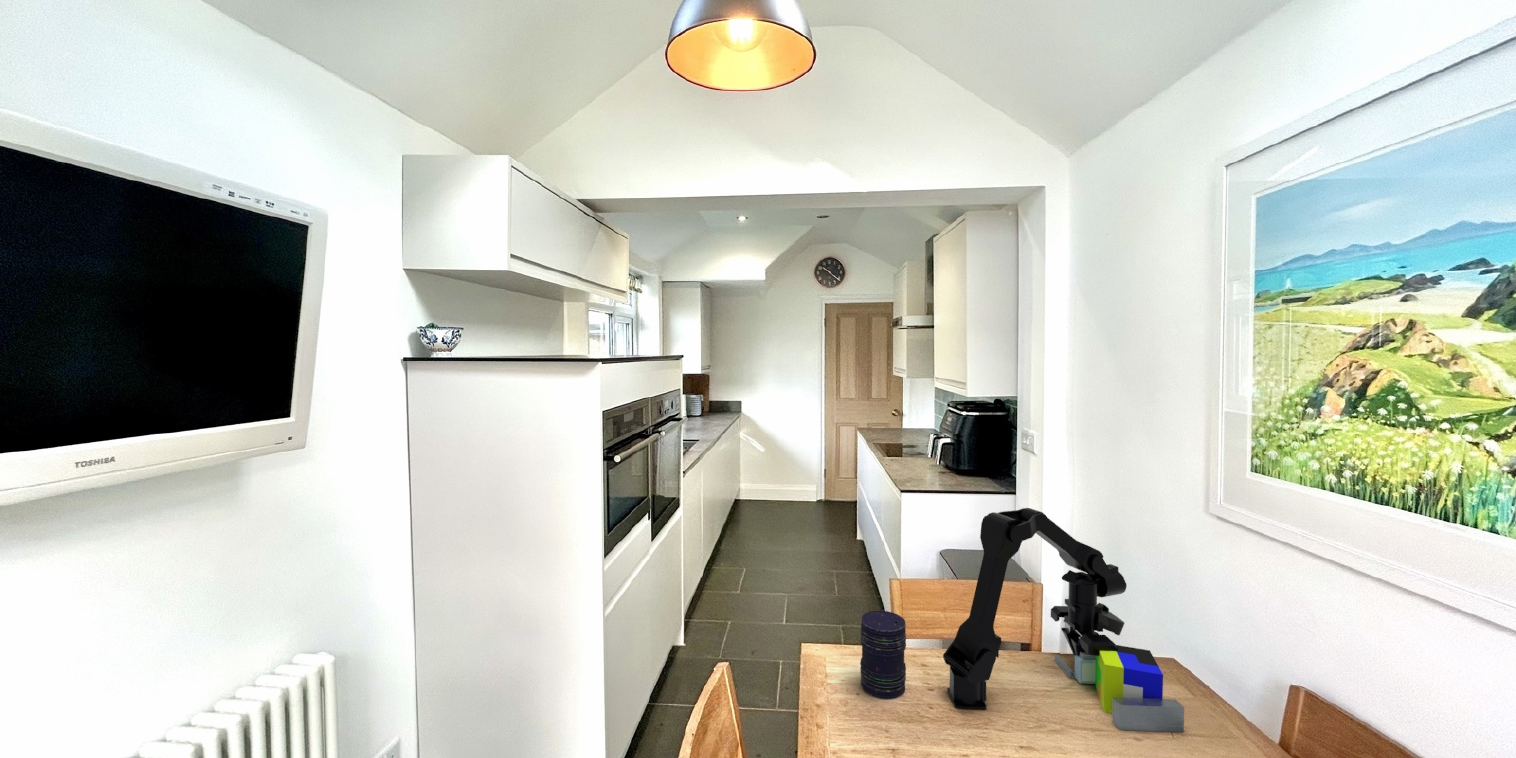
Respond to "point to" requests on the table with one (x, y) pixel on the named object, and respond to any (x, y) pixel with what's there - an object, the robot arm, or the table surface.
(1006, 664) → the table surface
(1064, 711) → the table surface
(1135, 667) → the puzzle toy
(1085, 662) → the bar
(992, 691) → the table surface
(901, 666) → the storage jar
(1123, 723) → the grey rail base
